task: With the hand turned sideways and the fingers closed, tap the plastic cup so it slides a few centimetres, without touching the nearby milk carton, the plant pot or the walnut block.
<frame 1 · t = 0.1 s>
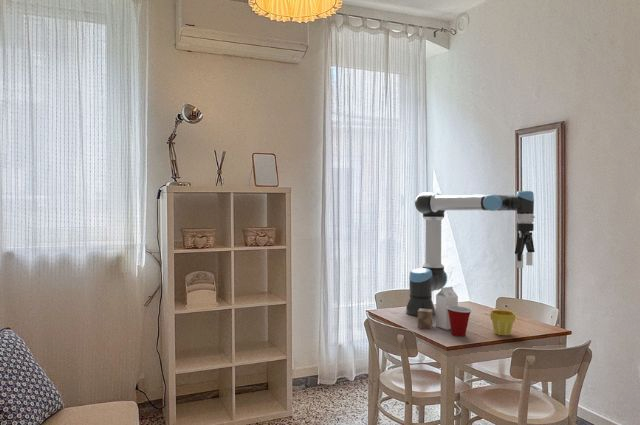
hand: (524, 266, 227), 28 cm above the table, tool pointing down, fingers open, 13 cm apart
walnut block: (425, 327, 221), on the table
plant pot: (502, 334, 209), on the table
plastic cup: (459, 335, 208), on the table
milk carton: (446, 327, 220), on the table
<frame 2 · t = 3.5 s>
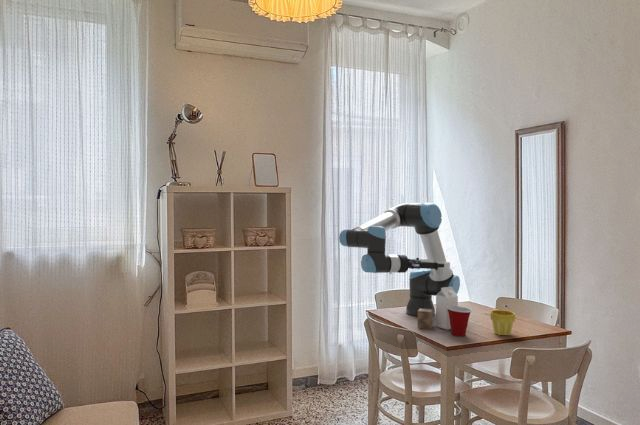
hand: (440, 263, 205), 32 cm above the table, tool horizontal, fingers open, 13 cm apart
nothing on the table moved.
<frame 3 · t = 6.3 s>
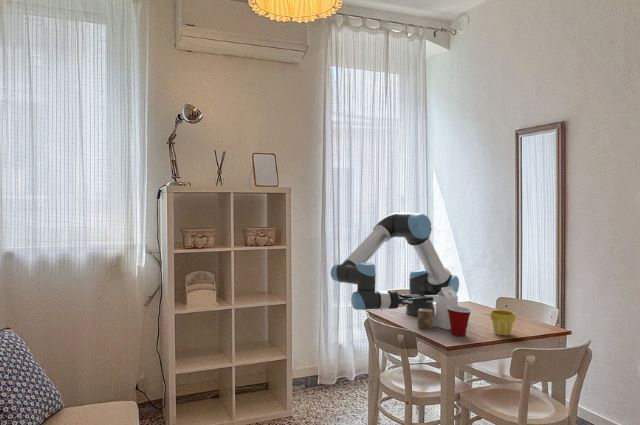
hand: (438, 298, 204), 17 cm above the table, tool horizontal, fingers closed
nothing on the table moved.
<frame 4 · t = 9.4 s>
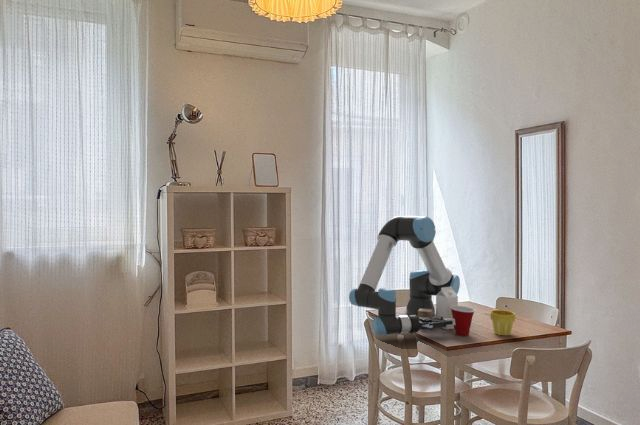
hand: (457, 321, 207), 6 cm above the table, tool horizontal, fingers closed
plastic cup: (462, 334, 208), on the table, touching gripper
everything else where it was.
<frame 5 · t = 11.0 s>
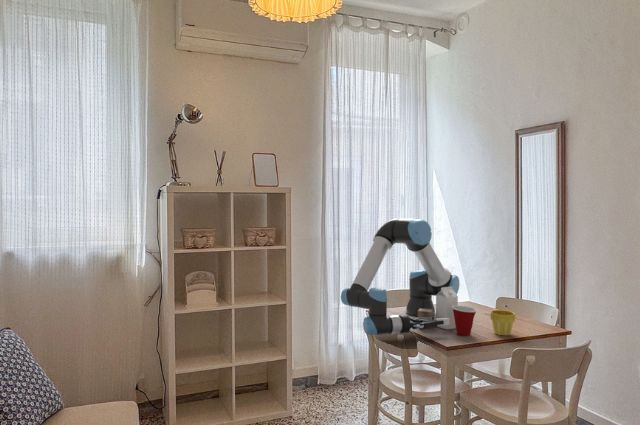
hand: (448, 321, 206), 6 cm above the table, tool horizontal, fingers closed
plastic cup: (464, 334, 208), on the table
everything else where it was.
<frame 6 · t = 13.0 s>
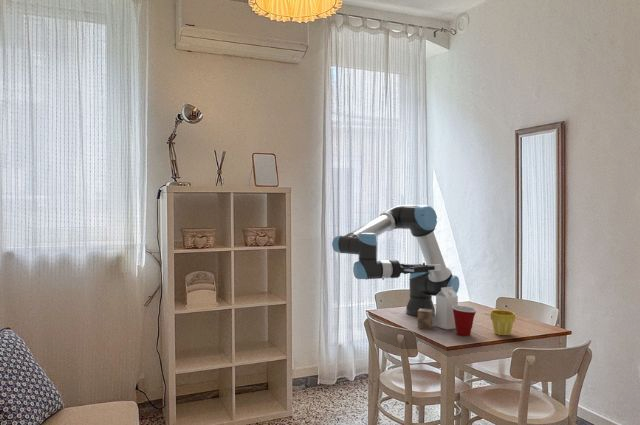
hand: (439, 267, 205), 30 cm above the table, tool horizontal, fingers closed
nothing on the table moved.
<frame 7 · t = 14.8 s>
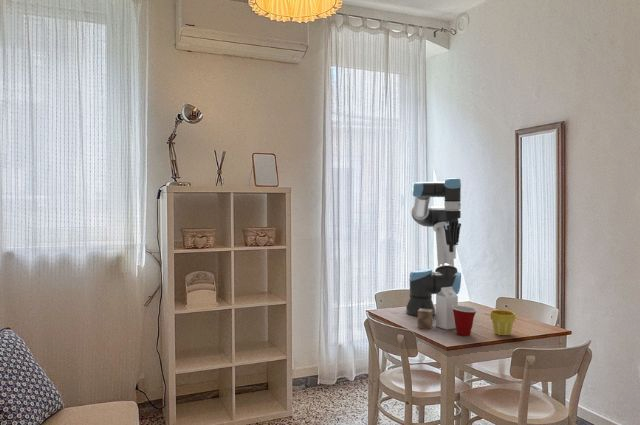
hand: (452, 258, 228), 32 cm above the table, tool pointing down, fingers closed
nothing on the table moved.
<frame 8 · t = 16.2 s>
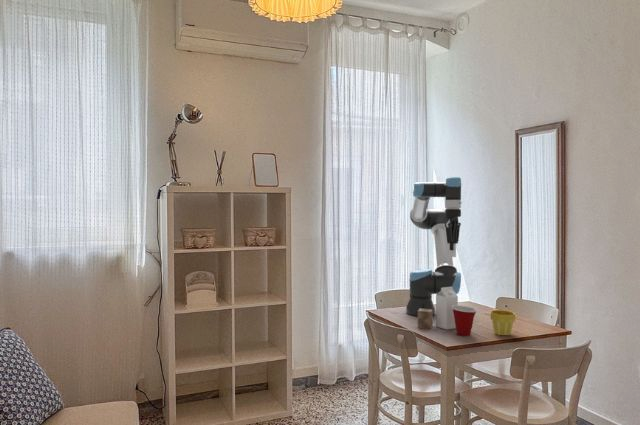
hand: (452, 256, 229), 32 cm above the table, tool pointing down, fingers closed
nothing on the table moved.
at the end: plastic cup moved 2.4 cm from its start; plastic cup tilted 0°; milk carton moved 0.2 cm from its start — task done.
